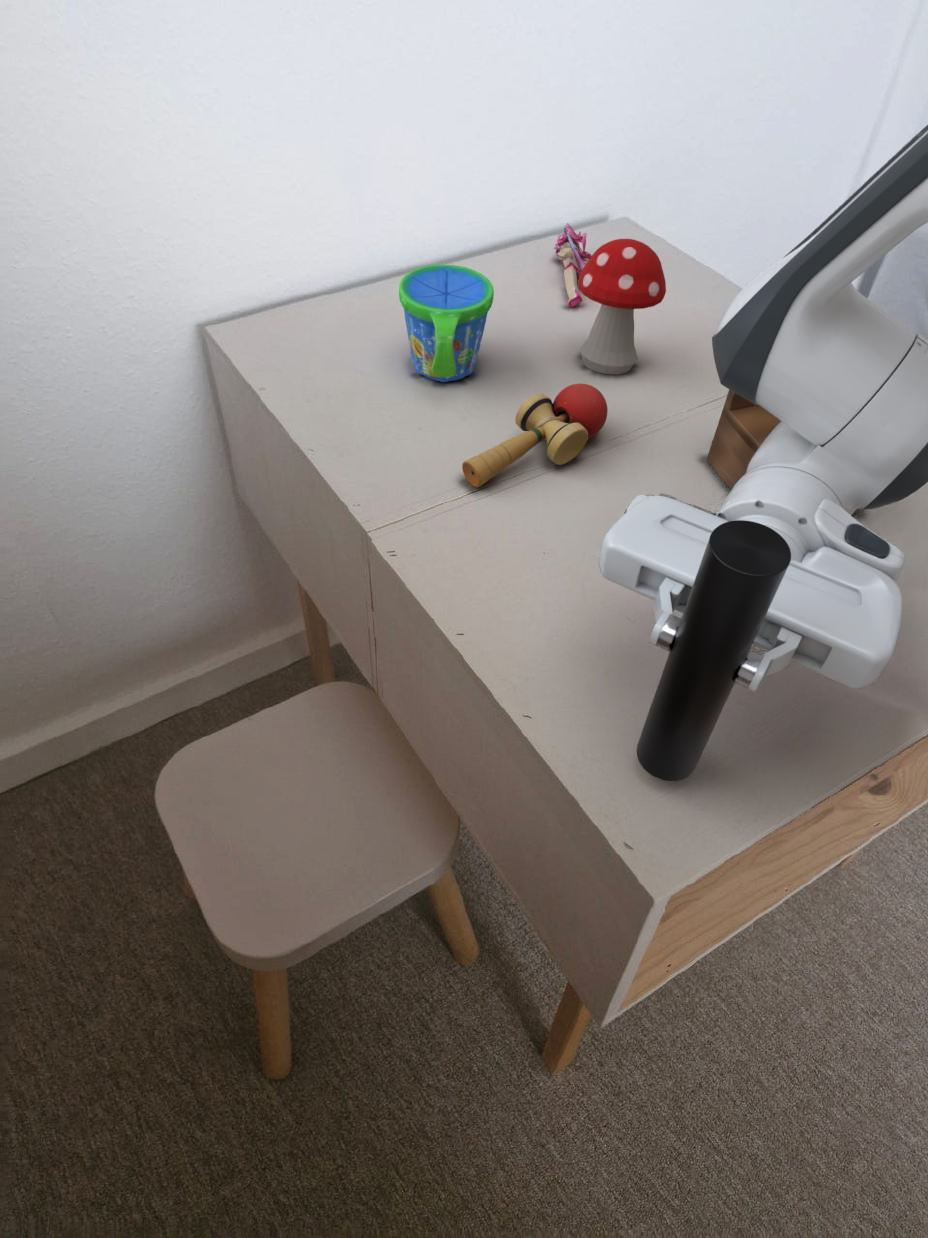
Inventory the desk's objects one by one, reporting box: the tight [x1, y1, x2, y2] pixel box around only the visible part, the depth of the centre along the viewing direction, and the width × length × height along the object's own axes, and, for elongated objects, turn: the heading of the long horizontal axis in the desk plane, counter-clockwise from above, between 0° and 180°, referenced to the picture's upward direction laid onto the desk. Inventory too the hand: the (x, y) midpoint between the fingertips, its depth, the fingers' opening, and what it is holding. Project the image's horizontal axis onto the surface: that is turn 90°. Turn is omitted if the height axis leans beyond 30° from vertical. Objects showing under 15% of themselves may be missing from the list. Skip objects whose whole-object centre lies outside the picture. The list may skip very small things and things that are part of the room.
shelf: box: [706, 389, 861, 515], centre depth 85 cm, size 12×11×12 cm
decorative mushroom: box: [577, 238, 667, 376], centre depth 98 cm, size 10×9×15 cm
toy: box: [553, 222, 593, 308], centre depth 115 cm, size 7×6×15 cm
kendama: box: [461, 382, 608, 489], centre depth 89 cm, size 8×6×18 cm
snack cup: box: [398, 264, 495, 383], centre depth 97 cm, size 16×10×10 cm
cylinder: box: [636, 520, 791, 782], centre depth 56 cm, size 5×5×22 cm
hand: (703, 661), depth 55 cm, fingers closed on cylinder, 4 cm apart
